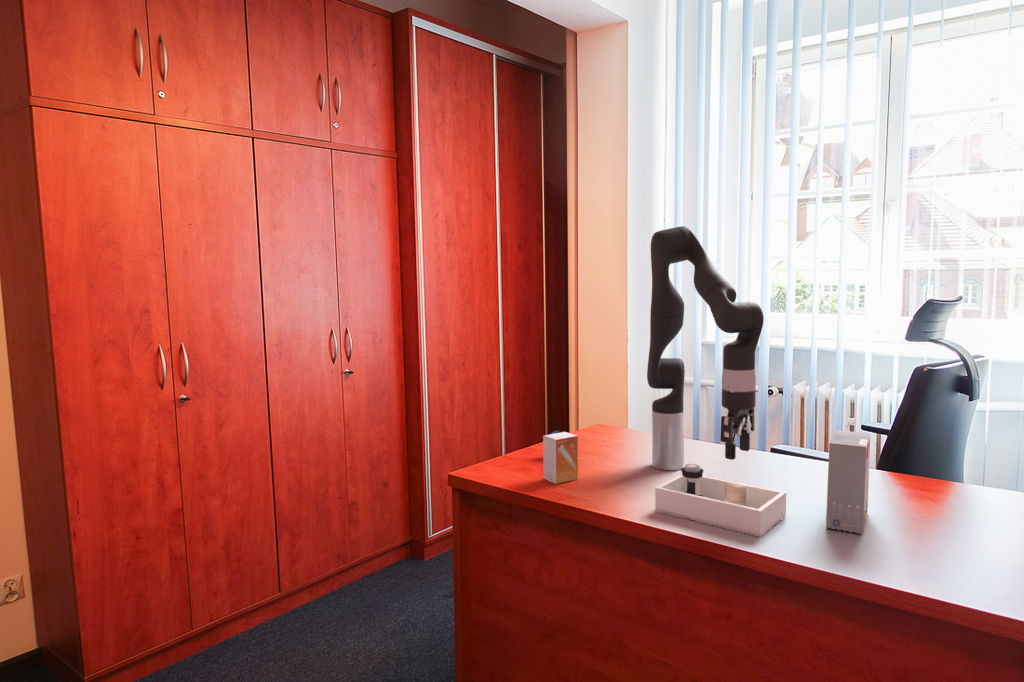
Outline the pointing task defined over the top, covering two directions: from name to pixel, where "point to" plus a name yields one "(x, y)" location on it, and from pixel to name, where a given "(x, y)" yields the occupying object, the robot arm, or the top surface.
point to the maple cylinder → (736, 493)
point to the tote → (722, 505)
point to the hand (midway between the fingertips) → (737, 454)
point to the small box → (560, 457)
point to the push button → (692, 478)
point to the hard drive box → (848, 481)
